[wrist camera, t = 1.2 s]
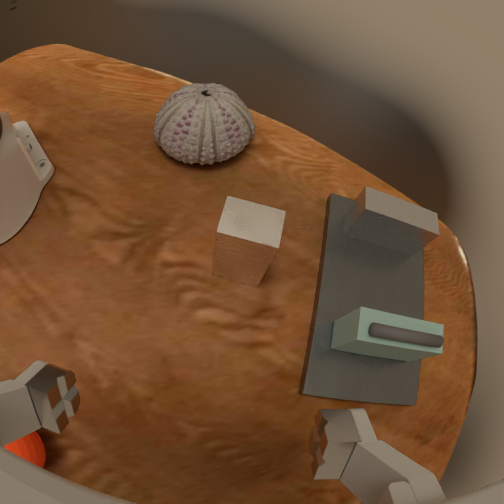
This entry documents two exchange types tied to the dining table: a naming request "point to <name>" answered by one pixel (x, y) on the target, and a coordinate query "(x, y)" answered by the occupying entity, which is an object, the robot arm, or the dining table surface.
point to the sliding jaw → (387, 335)
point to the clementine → (29, 449)
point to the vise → (367, 293)
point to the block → (246, 240)
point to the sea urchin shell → (203, 124)
